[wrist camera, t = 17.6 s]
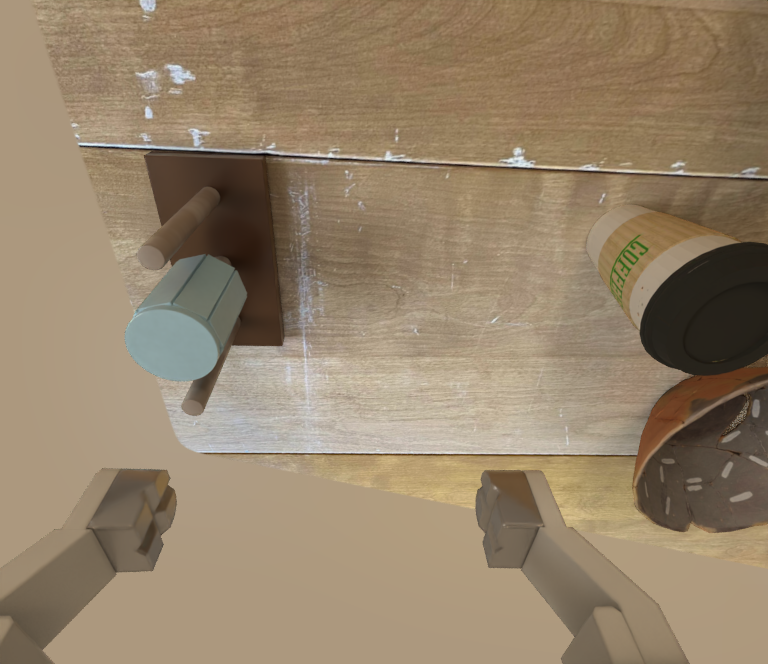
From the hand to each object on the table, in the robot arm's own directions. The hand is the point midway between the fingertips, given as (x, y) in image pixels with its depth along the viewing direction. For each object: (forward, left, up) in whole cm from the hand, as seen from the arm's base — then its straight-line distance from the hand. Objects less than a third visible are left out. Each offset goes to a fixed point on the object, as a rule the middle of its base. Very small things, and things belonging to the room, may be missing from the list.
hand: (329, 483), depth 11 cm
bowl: (+34, +35, -30) cm, 58 cm away
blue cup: (+4, -13, -24) cm, 28 cm away
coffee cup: (+10, +23, -30) cm, 40 cm away
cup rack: (+4, -13, -30) cm, 33 cm away
